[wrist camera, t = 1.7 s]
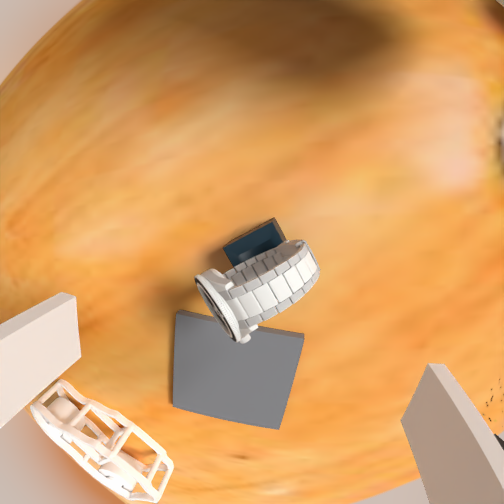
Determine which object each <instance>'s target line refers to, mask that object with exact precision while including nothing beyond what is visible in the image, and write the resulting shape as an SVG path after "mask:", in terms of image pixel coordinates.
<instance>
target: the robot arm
mask: <svg viewBox="0 0 504 504" xmlns="http://www.w3.org/2000/svg"><path fill="white" fill-rule="evenodd" d="M496 1H497V2H498V3H500V4H501V5H502V6H503V7H504V0H496ZM79 358H81V349H80V341H79V331H78V320H77V306H76V296H73V295H70V294H67V293H64V292H61V293H59V294H57V295H55V296H53V297H51V298H49V299H47V300H45V301H43V302H41V303H39V304H37V305H35V306H34V307H32V308H30V309H28V310H26V311H24V312H22V313H20V314H19V315H17V316H15V317H13V318H11V319H9V320H7V321H6V322H4V323H2V324H0V428H1V427H3V426H4V425H5V424H6V423H7V422H8V421H9V420H10V419H11V418H12V417H14V416H15V415H16V414H17V413H18V412H19V411H20V410H21V409H22V408H24V407H25V406H26V405H27V404H28V403H29V402H30V401H31V400H32V399H34V398H35V397H36V396H37V395H38V394H39V393H40V392H42V391H43V390H44V389H45V388H46V387H47V386H48V385H49V384H51V383H52V382H53V381H54V380H55V379H56V378H57V377H59V376H60V375H61V374H62V373H63V372H64V371H66V370H67V369H68V368H69V367H70V366H71V365H72V364H74V363H75V362H76V361H77V360H78V359H79ZM401 423H402V426H403V428H404V431H405V433H406V436H407V439H408V441H409V444H410V447H411V450H412V452H413V455H414V458H415V461H416V464H417V466H418V469H419V472H420V475H421V478H422V481H423V484H424V487H425V490H426V493H427V496H428V500H429V503H430V504H504V441H503V440H502V439H500V438H499V437H498V436H497V435H496V434H493V433H492V431H491V430H490V428H489V427H488V425H487V424H486V422H485V421H484V419H483V418H482V416H481V415H480V413H479V412H478V410H477V409H476V407H475V406H474V404H473V403H472V402H471V400H470V399H469V397H468V396H467V394H466V393H465V392H464V390H463V389H462V387H461V386H460V385H459V383H458V382H457V380H456V379H455V378H454V376H453V375H452V374H451V372H450V371H449V370H448V368H447V367H446V366H445V364H433V363H428V364H427V367H426V369H425V371H424V373H423V376H422V378H421V380H420V382H419V385H418V387H417V389H416V391H415V393H414V395H413V397H412V399H411V401H410V403H409V405H408V407H407V409H406V411H405V413H404V415H403V417H402V419H401Z"/></svg>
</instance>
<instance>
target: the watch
mask: <svg viewBox="0 0 504 504" xmlns="http://www.w3.org/2000/svg"><path fill="white" fill-rule="evenodd" d="M223 249H224V251H225V253H226V255H227V256H228V258H229V260H230V262H231V263H232V265H233V267H234V268H232V269H230V270H228V271H227V272H225V273H224V274H221V273H220V272H219V271H217V270H216V269H209V270H207V271H205V272H203V273H202V274H200V275H199V274H198V275H196V276H195V277H194V278H195V282H196V285H197V287H198V289H199V292H200V294H201V296H202V298H203V299H204V301H205V303H206V305H207V306H208V308H209V310H210V311H211V313H212V314H213V316H214V317H215V319H216V320H217V322H218V323H219V324H220V326H221V327H222V328H223V330H224V331H225V332H226V333H227V334H228V335H229V337H230V338H231V339H232V340H233V341H235V342H239V341H240V343H241V344H243V343H246V342H248V341H249V340H250V339H251V337H250V335H249V333H251V332H252V331H254V330H255V329H257V328H258V325H257V324H258V323H261V322H262V321H263V320H264V321H265V320H267V319H269V318H271V317H273V316H275V315H276V314H278V313H280V312H282V311H283V310H285V309H286V308H288V307H289V306H291V305H292V303H293V304H294V303H295V302H297V301H298V300H299V299H300V298H301V297H303V296H304V294H305V293H307V292H308V291H309V290H310V288H311V287H312V286H313V284H315V282H316V281H317V279H318V277H319V275H320V273H319V271H320V268H319V265H318V263H317V261H316V259H315V257H314V255H313V253H312V251H311V249H310V247H309V246H308V244H307V242H306V241H304V240H292V241H289V240H286V238H285V236H284V234H283V232H282V230H281V229H280V227H279V225H278V223H277V221H276V219H275V218H273V219H271V220H269V221H267V222H265V223H263V224H261V225H259V226H258V227H256V228H254V229H252V230H250V231H248V232H246V233H244V234H243V235H241V236H239V237H237V238H235V239H233V240H231V241H230V242H229V243H228V244H227V245H226V246H224V247H223ZM236 272H237V273H236ZM276 299H277V300H278V301H277V300H276ZM274 306H275V307H276V308H275V307H274ZM276 309H277V310H276ZM277 311H278V312H277Z"/></svg>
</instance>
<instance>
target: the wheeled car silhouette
mask: <svg viewBox="0 0 504 504" xmlns="http://www.w3.org/2000/svg"><path fill="white" fill-rule="evenodd" d="M63 388H64V389H66V390H67V391H68V392H69V393H70V394H71V396H73V397H74V398H75V399H76V400H77V401H78V402H80V403H81V404H83V405H85V406H84V407H83V408H82V409H81V410H79V409H78V408H77V407H76V406H75V405H74V404H73V403H71V402H70V400H69V399H68V397H67V396H66V394H65V393H64V390H63ZM56 391H57V393H58V395H59V397H58V398H56V399H55V400H54V401H53V402H52V403H51V404H50V405H49V406H48V407H47V408H46V407H45V406H43V405H42V404H43V403H44V402H45V401H46V400H47V399H48V398H49V397H50V396H51V395H52V394H54V393H55V392H56ZM30 409H31V412H32V415H33V417H34V419H35V420H36V422H37V423H38V425H39V426H40V427H41V428H42V430H43V431H44V432H45V433H46V434H47V435H48V436H49V437H50V438H51V439H52V440H53V441H54V442H55V443H56V444H57V445H58V446H60V447H61V448H62V449H64V450H65V451H66V452H67V453H68V454H69V455H70V456H72V457H73V458H74V459H75V460H76V461H77V463H78V464H79V465H81V466H82V467H83V468H84V469H85V470H86V471H87V472H88V473H89V474H91V475H92V476H93V477H94V478H95V479H97V480H98V481H99V482H100V483H102V484H103V485H105V486H106V487H108V488H110V489H111V490H113V491H115V492H116V493H118V494H119V495H121V496H123V497H124V498H126V499H128V500H132V501H134V500H142V501H149V502H153V503H157V502H158V500H160V498H161V496H162V494H163V491H164V489H165V487H166V485H167V482H168V480H169V478H170V476H171V473H172V471H173V469H174V465H173V462H172V460H171V459H169V458H168V456H167V455H166V454H167V453H166V451H165V450H164V449H163V448H162V447H161V446H160V445H159V444H158V443H157V442H155V441H154V440H153V439H152V438H151V437H150V436H149V435H147V434H146V433H145V432H144V431H143V430H142V429H140V428H139V427H138V426H136V425H135V424H134V423H133V422H132V421H130V420H128V419H126V418H125V417H124V416H123V415H121V413H119V412H118V411H116V410H112V409H110V408H108V407H106V406H104V405H102V404H101V403H99V402H97V401H95V400H92V399H88V398H85V397H84V396H82V395H81V394H80V393H79V392H77V391H76V390H75V389H74V387H73V386H72V385H70V384H69V383H68V382H67V381H65V380H63V379H60V380H58V381H57V382H56V383H55V385H53V386H52V387H51V388H50V389H49V390H48V391H47V392H46V393H45V394H43V395H42V396H41V397H40V398H39V399H38V400H37V401H35V402H34V403H33V404H32V405H31V406H30ZM90 409H91V410H92V411H93V412H94V413H95V414H96V415H97V416H98V417H99V418H100V419H101V420H102V421H103V422H104V423H105V424H106V425H107V426H108V427H109V428H111V429H112V430H113V431H114V432H115V433H114V434H113V435H112V437H111V438H110V439H108V438H107V437H106V435H105V434H104V433H103V432H102V431H101V430H100V429H99V428H98V427H97V426H96V425H95V424H94V423H93V422H92V421H91V420H90V419H88V418H87V417H86V416H84V415H85V414H86V413H87V412H88V411H89V410H90ZM108 416H109V417H112V418H115V419H116V420H117V421H118V422H119V423H121V424H122V425H123V426H125V427H123V428H120V427H119V426H118V425H117V424H116V423H114V422H113V421H112V420H111V419H110V418H109V417H108ZM85 425H86V426H88V427H89V428H90V429H91V430H92V431H93V432H94V433H95V434H96V435H97V437H98V438H97V439H94V438H91V437H89V436H87V435H85V434H83V433H82V432H80V431H81V430H82V429H83V427H84V426H85ZM131 432H133V433H135V434H136V435H137V436H138V437H140V438H141V439H142V440H143V441H144V442H145V443H146V444H148V445H149V446H150V447H151V448H152V449H153V450H155V452H156V453H157V457H156V459H155V461H154V463H153V464H149V465H144V464H143V463H141V462H139V461H138V460H136V459H135V458H133V457H131V456H130V455H128V454H127V453H125V452H123V451H122V450H121V447H122V446H123V444H124V443H125V441H126V440H127V438H128V437H129V435H130V433H131ZM121 435H122V436H121ZM119 436H121V437H120V438H119V440H118V441H117V443H116V444H114V443H115V442H116V440H117V439H118V437H119ZM72 441H73V442H74V443H75V444H76V445H77V446H78V447H79V448H81V449H82V450H83V451H84V452H85V453H86V454H85V455H84V457H82V456H81V455H80V454H79V453H78V452H77V451H76V450H75V449H74V448H73V447H72V446H70V445H69V444H70V443H71V442H72ZM101 442H103V443H104V444H105V446H104V445H102V444H101ZM110 449H111V450H110ZM95 450H96V451H97V452H99V453H100V454H98V453H97V452H96V451H95ZM90 457H91V458H92V459H93V460H94V461H95V462H96V463H98V464H99V465H101V466H100V468H99V469H98V471H97V470H96V469H95V468H93V467H92V466H91V465H90V464H89V463H88V462H87V461H88V460H89V458H90ZM161 460H162V461H163V463H164V464H160V462H161ZM143 471H144V472H148V474H147V476H146V478H145V477H144V476H143V475H142V472H143ZM156 471H166V473H165V475H164V477H163V479H162V481H161V483H160V486H159V488H158V490H156V489H155V488H153V487H152V483H151V481H152V479H153V477H154V475H155V473H156ZM137 482H138V483H139V484H140V485H141V486H142V488H143V489H144V490H145V491H146V492H147V493H139V492H136V493H131V492H132V491H133V489H134V488H135V486H136V484H137Z"/></svg>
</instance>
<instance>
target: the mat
mask: <svg viewBox="0 0 504 504" xmlns="http://www.w3.org/2000/svg"><path fill="white" fill-rule="evenodd" d="M249 335H250V337H251V339H250V340H249V341H248V342H246V343H243V344H241V343H240V341H239V342H235V341H233V340H232V339H231V338H230V337H229V335H228V334H227V333H226V332H225V331H224V330H223V328H222V327H221V326H220V324H219V323H218V322H217V320H216V319H215V317H211V316H206V315H202V314H197V313H193V312H188V311H184V310H179V311H178V312H177V313H176V325H175V345H174V374H173V407H176V408H179V409H183V410H187V411H190V412H194V413H198V414H202V415H206V416H210V417H215V418H219V419H223V420H228V421H233V422H238V423H243V424H248V425H253V426H259V427H265V428H271V429H278V430H279V428H280V425H281V421H282V418H283V415H284V411H285V408H286V405H287V401H288V398H289V394H290V391H291V387H292V384H293V380H294V376H295V373H296V369H297V365H298V362H299V358H300V354H301V350H302V346H303V342H304V334H302V333H296V332H290V331H284V330H278V329H273V328H267V327H261V326H258V328H257V329H255V330H254V331H252V332H251V333H249Z"/></svg>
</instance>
